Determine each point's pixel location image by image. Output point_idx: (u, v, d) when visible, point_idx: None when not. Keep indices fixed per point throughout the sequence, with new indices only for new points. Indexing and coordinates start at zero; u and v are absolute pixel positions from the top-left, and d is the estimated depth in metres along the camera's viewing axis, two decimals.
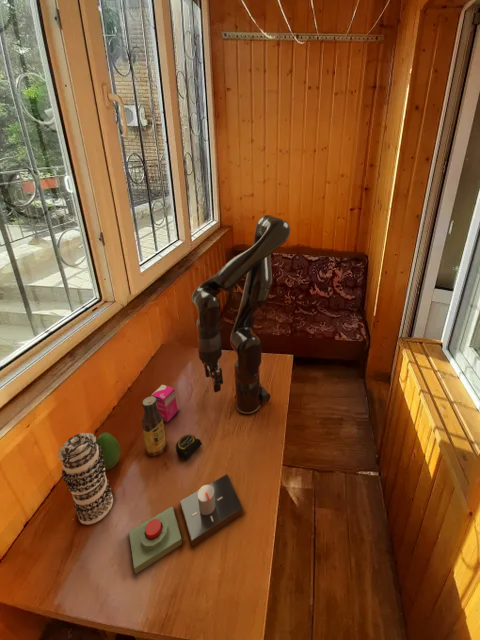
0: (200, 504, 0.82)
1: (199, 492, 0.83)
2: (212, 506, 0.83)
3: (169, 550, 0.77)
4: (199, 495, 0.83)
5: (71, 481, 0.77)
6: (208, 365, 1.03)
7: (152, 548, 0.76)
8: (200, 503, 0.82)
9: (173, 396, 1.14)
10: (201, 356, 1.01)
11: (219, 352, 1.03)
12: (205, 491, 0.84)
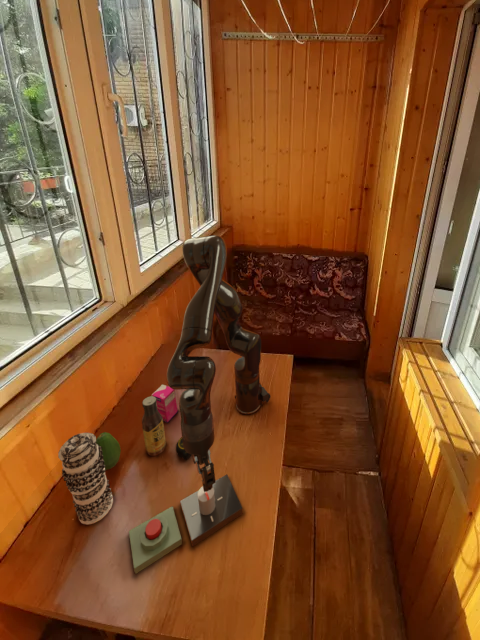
0: (200, 504, 0.82)
1: (199, 492, 0.83)
2: (212, 506, 0.83)
3: (169, 550, 0.77)
4: (199, 495, 0.83)
5: (71, 481, 0.77)
6: (195, 456, 0.76)
7: (152, 548, 0.76)
8: (200, 503, 0.82)
9: (173, 396, 1.14)
10: (185, 446, 0.73)
11: (211, 439, 0.75)
12: None
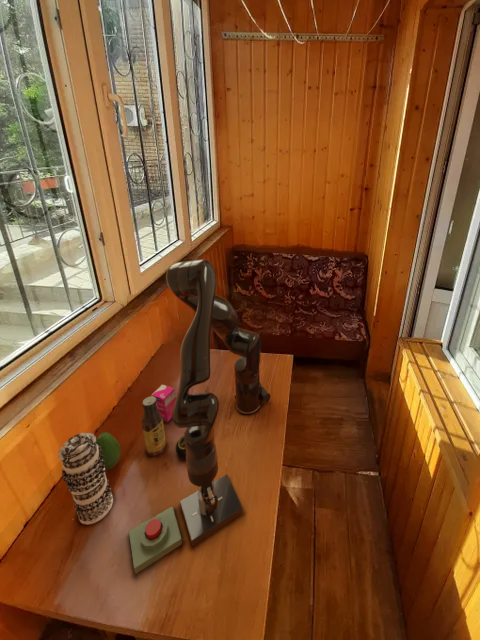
0: (200, 504, 0.82)
1: (199, 492, 0.83)
2: None
3: (169, 550, 0.77)
4: (199, 495, 0.83)
5: (71, 481, 0.77)
6: (200, 486, 0.79)
7: (152, 548, 0.76)
8: (200, 503, 0.82)
9: (173, 396, 1.14)
10: (191, 478, 0.77)
11: (215, 470, 0.79)
12: None
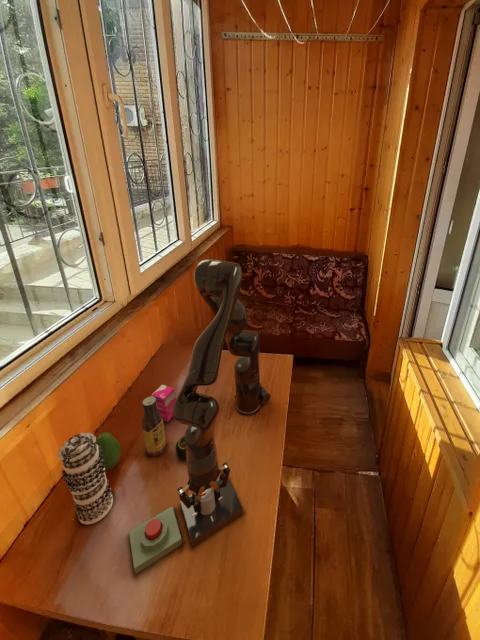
0: None
1: None
2: (200, 508, 0.83)
3: (169, 550, 0.77)
4: None
5: (71, 481, 0.77)
6: None
7: (152, 548, 0.76)
8: None
9: (173, 396, 1.14)
10: None
11: (194, 480, 0.76)
12: (207, 492, 0.83)
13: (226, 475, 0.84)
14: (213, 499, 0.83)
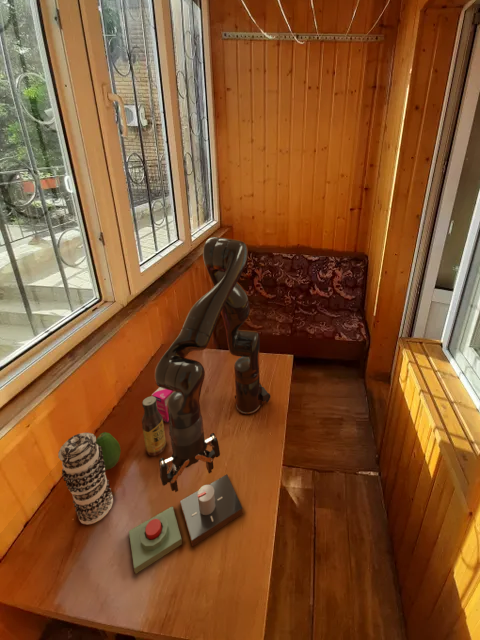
0: None
1: (207, 486, 0.85)
2: (200, 508, 0.83)
3: (169, 550, 0.77)
4: (205, 486, 0.85)
5: (71, 481, 0.77)
6: None
7: (152, 548, 0.76)
8: None
9: None
10: None
11: (177, 452, 0.71)
12: (207, 491, 0.83)
13: (215, 446, 0.78)
14: (213, 499, 0.83)
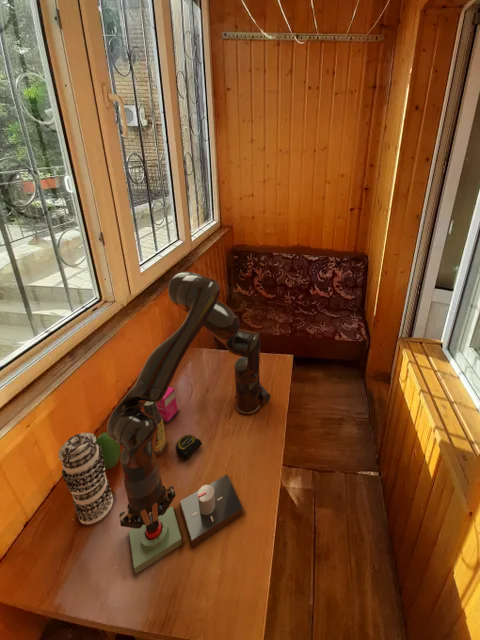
0: None
1: (207, 486, 0.85)
2: (200, 508, 0.83)
3: (169, 550, 0.77)
4: (205, 486, 0.85)
5: (71, 481, 0.77)
6: None
7: (152, 548, 0.76)
8: None
9: (173, 396, 1.14)
10: None
11: (132, 503, 0.70)
12: (207, 491, 0.83)
13: (169, 501, 0.77)
14: (213, 499, 0.83)
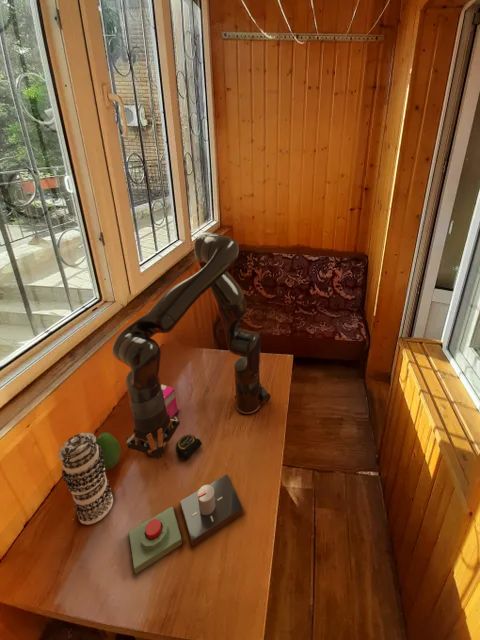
0: None
1: (207, 486, 0.85)
2: (200, 508, 0.83)
3: (169, 550, 0.77)
4: (205, 486, 0.85)
5: (71, 481, 0.77)
6: None
7: (152, 548, 0.76)
8: None
9: (173, 396, 1.14)
10: None
11: (138, 425, 0.73)
12: (207, 491, 0.83)
13: (174, 428, 0.80)
14: (213, 499, 0.83)
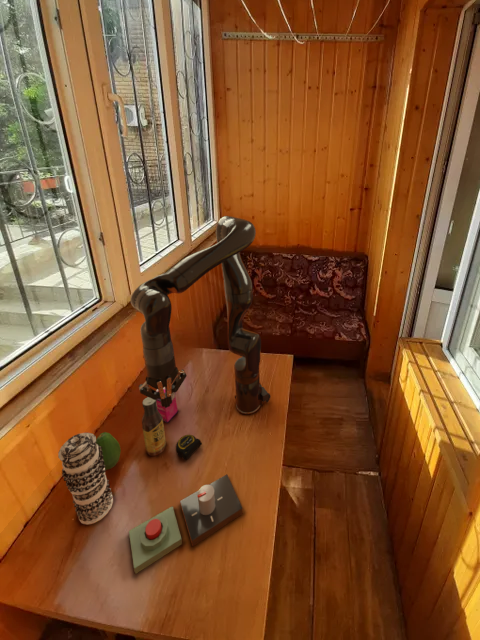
0: None
1: (207, 486, 0.85)
2: (200, 508, 0.83)
3: (169, 550, 0.77)
4: (205, 486, 0.85)
5: (71, 481, 0.77)
6: None
7: (152, 548, 0.76)
8: None
9: (173, 396, 1.14)
10: None
11: (150, 371, 0.81)
12: (207, 491, 0.83)
13: (181, 379, 0.88)
14: (213, 499, 0.83)
